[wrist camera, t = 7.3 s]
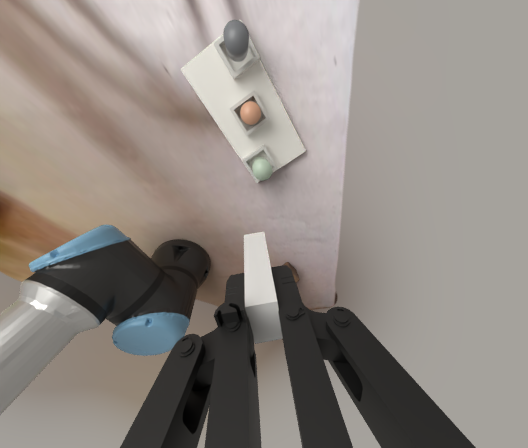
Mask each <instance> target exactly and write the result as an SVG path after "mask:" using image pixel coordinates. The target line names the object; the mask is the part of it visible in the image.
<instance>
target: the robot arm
mask: <svg viewBox="0 0 528 448" xmlns="http://www.w3.org/2000/svg"><path fill="white" fill-rule="evenodd" d="M29 267H30V270H31V271H32V272H35V273H34V274H33V275H32V276H30V277H29V278H27V279H26V280H24V281H23V282H22V283H21V287H20V296H19V299H18V300H17V301H16V302H15V303H14V304H12V305H11V306H10V307H9V308H7V309H6V310H4V311H3V312H2V313H0V415H1V414H2V413H3V412H4V410H5V409H6V408H7V407H8V406H9V405H10V404H11V403H12V402H13V401H14V400H15V399H16V398H17V397H18V396H19V395H20V394H21V393H22V391H23V390H24V389H25V388H26V387H27V386H28V385H29V384H30V383H31V382H32V381H33V380H34V379H35V378H36V377H37V376H38V375H39V374H40V373H41V371H43V369H44V368H45V367H46V366H47V365H48V364H49V363H50V362H51V361H52V360H53V359H54V358H55V357H56V356H57V355H58V354H59V353H60V352H61V351H62V350H63V348H64V347H65V346H66V345H67V344H68V343H69V342H70V341H71V340H72V339H73V338H74V337H75V336H76V335H77V334H78V333H80V332H83V331H86V330H90V329H94V328H97V327H98V326H99V325H100V324H101V323H102V322H103V321H104V320H105V319H107V320H109V321H110V322H112V323H113V324H115V325H116V326H117V327H115V329H114V331H113V336H112V339H113V343H114V345H115V346H116V347H117V348H119V349H120V350H122V351H124V352H127V353H130V354H134V355H143V356H144V355H157V354H162V353H165V352H168V351H170V350H171V353H170V354H169V356H168V358H167V360H166V362H165V364H164V366H163V367H162V369H161V371H160V373H159V375H158V377H157V379H156V381H155V383H154V385H153V387H152V388H151V390H150V392H149V394H148V396H147V398H146V400H145V401H144V403H143V405H142V407H141V409H140V411H139V413H138V415H137V417H136V418H135V420H134V422H133V424H132V426H131V428H130V430H129V432H128V434H127V436H126V437H125V440H124V441H123V443H122V445H121V447H120V448H197V445H198V442H199V438H200V435H201V431H202V428H203V424H204V422H205V418H206V415H207V412H208V408H209V414H208V423H207V432H206V440H205V448H261V433H260V416H259V400H258V384H257V383H258V382H257V366H256V354H255V350H254V343H255V344H256V343H262V342H267V341H273V340H278V339H283V343H284V348H285V354H286V360H287V364H288V371H289V376H290V381H291V387H292V393H293V398H294V403H295V409H296V415H297V420H298V425H299V431H300V436H301V442H302V448H353V446H352V443H351V441H350V438H349V435H348V432H347V429H346V426H345V423H344V420H343V417H342V414H341V411H340V408H339V405H338V402H337V399H336V396H335V393H334V390H333V387H332V384H331V381H330V378H329V375H328V372H327V369H326V366H325V363H324V360H328V361H329V362H330V364H331V366H332V367H333V369H334V371H335V372H336V374H337V376H338V377H339V379H340V380H341V382H342V384H343V385H344V387H345V389H346V390H347V392H348V394H349V395H350V397H351V399H352V400H353V402H354V403H355V405H356V407H357V408H358V410H359V412H360V413H361V415H362V416H363V418H364V420H365V422H366V423H367V425H368V426H369V428H370V430H371V431H372V433H373V435H374V436H375V438H376V440H377V441H378V443H379V444H380V446H381V448H475V446H474V445H473V444H472V443H471V442H470V441H469V440H468V439H467V438H466V437H465V435H463V433H462V432H461V431H460V430H459V429H458V428H457V427H456V426H455V425H454V424H453V422H452V421H451V420H450V419H449V418H448V417H447V416H446V415H445V413H444V412H443V411H442V410H441V409H440V408H439V407H438V406H437V405H436V404H435V402H434V401H433V400H432V399H431V398H430V397H429V396H428V395H427V394H426V393H425V391H424V390H423V389H422V388H421V387H420V386H419V385H418V384H417V383H416V382H415V380H414V379H413V378H412V377H411V376H410V375H409V374H408V373H407V372H406V371H405V369H403V367H402V366H401V365H400V364H399V363H398V362H397V361H396V359H395V358H394V357H393V356H392V355H391V354H390V353H389V352H388V351H387V350H386V349H385V347H384V346H383V345H382V344H381V343H380V342H379V341H378V340H377V339H376V337H375V336H374V335H373V334H372V333H371V332H370V331H369V330H368V329H367V328H366V326H365V325H364V324H363V323H362V322H361V321H360V320H359V319H358V318H357V317H356V316H355V314H354V313H352V312H351V311H350V310H348V309H346V308H343V307H334V308H331V309H330V310H328V311H327V313H319V312H314V311H311V310H309V309H308V308H306V307H305V306H304V304H303V303H302V300H301V297H300V294H299V291H298V288H297V285H296V282H295V279H294V276H293V273H292V270H291V269H290V268H289V267H288V266H287V265H283V266H277V267H272V268H271V266H270V260H269V255H268V250H267V245H266V240H265V235H264V232H259V233H253V234H247V235H244V273H241V274H235V275H231V276H230V277H229V279H228V281H227V284H226V295H225V303H223V304H222V305H220V306H219V307H218V309H217V310H216V311H215V314H214V317H215V320H216V322H217V325H218V327H217V328H216V329H215V330H214V331H212V332H210V333H208V334H206V335H204V336H202V337H199V336H198V335H196V334H189V335H186V336H184V335H185V332H186V330H187V327H188V326H189V322H190V317H191V313H192V309H193V305H194V301H195V297H196V293H197V289H198V288H199V287H200V286H201V284H202V283H203V282H204V281H205V279H206V278H207V276H208V273H209V270H210V259H209V256H208V254H207V253H206V251H205V250H204V249H203V248H202V247H200V246H199V245H197V244H196V243H193V242H191V241H187V240H171V241H167V242H165V243H163V244H161V245H160V246H159V247H158V248H157V249H156V251H155V252H154V254H153V255H152V258H149V257H148V256H147V255H146V254H145V253H144V252H143V251H142V250H141V249H140V248H139V247H138V246H137V245H136V244H135V243H134V242H133V241H131V238H129V237H127V236H125V235H124V234H123V233H122V232H121V231H119V230H118V229H117V228H116V227H114V226H112V225H101V226H99V227H97V228H95V229H92V230H90V231H89V232H87V233H85V234H83V235H81V236H79V237H77V238H75V239H73V240H71V241H69V242H67V243H65V244H64V245H62V246H60V247H58V248H56V249H55V250H53V251H51V252H49V253H47V254H45V255H43V256H41V257H39V258H38V259H36V260H34V261H32V262H31V263H30V264H29ZM323 359H324V360H323ZM209 405H210V406H209Z"/></svg>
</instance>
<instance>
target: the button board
mask: <svg viewBox="0 0 528 448" xmlns="http://www.w3.org/2000/svg"><path fill="white" fill-rule="evenodd" d="M239 21H240V20H239ZM241 22H242V20H241ZM242 23H243V22H242ZM223 34H224V33H223ZM223 34H222V35H221V36H220V37H219V38H217V39H216V40H215V41H214V42H213V43H211V44H210V45H209V46H208V47H207V48H205V49H204V50H203V51H202V52H201V53H199V54H198V55H197V56H196V57H195V58H193V59H192V60H191V61H190V62H189V63H187V64H186V65H185V66H184V67H183V68H181V71H182V72H183V74H184V75H185V77H186V78H187V80H188V81H189V83H190V84H191V86H192V87H193V89H194V90H195V92H196V93H197V95H198V96H199V98H200V99H201V101H202V102H203V104H204V105H205V107H206V108H207V110H208V111H209V113H210V114H211V116H212V117H213V119H214V120H215V122H216V123H217V125H218V126H219V128H220V129H221V131H222V132H223V134H224V135H225V137H226V138H227V140H228V141H229V143H230V144H231V145H232V147H233V148H234V150H235V151H236V153H237V154H238V156H239V157H240V159H241V160H242V162H243V163H244V165H245V166H246V168H247V169H248V171H249V172H250V174H251V175H252V177H253V178H254V180H255V181H256V183H258V182H260V181H261V180H258V179H257V178H256V177H255V176H254V174H253V169H252V163H253V161H254V159H256V158H257V157H264V158H266V159H267V160H268V162H269V163H270V165H271V167H272V173H273V172H275V171H276V170H278V169H279V168H281V167H282V166H284V165H286V164H287V163H289V162H290V161H292V160H293V159H295V158H296V157H298V156H299V155H301V154H302V153H304V152H305V151H306V150H305V148H304V146H303V144H302V142H301V140H300V138H299V136H298V134H297V132H296V130H295V128H294V126H293V124H292V122H291V120H290V118H289V116H288V114H287V112H286V110H285V108H284V106H283V104H282V102H281V100H280V98H279V96H278V94H277V92H276V90H275V88H274V86H273V84H272V82H271V80H270V78H269V76H268V74H267V72H266V70H265V68H264V66H263V64H262V62H261V60H260V56H259V54H258V52H257V50H256V48H255V46H254V44H253V42H252V40H251V38H250V36H249V45H248V54H247V56H246V58H245V59H244V60H243V61H240V62H235V61H233V60H232V59H231V58H230V57H229V56H228V54H227V51H226V46H225V42H224V36H223ZM249 101H252V102H255V103H256V104H257V105H258V106H259V107H260V110H261V117H260V119H259V121H258V122H257V123H256V124H253V125H249V124H246V123H245V122H244V121H243V120H242V118H241V114H240V111H241V107H242V106H243V104H245V103H246V102H249Z"/></svg>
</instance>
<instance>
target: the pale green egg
mask: <svg viewBox="0 0 528 448" xmlns="http://www.w3.org/2000/svg"><path fill="white" fill-rule="evenodd" d="M252 169H253V174H254V176H255V177H256V178H257V179H258V180H262V181H263V180H267V179H268V178H270V176H271V175H272V167H271V165H270V163H269V162H268V160H267V159H266V158H264V157H257V158H256V159H254V161H253V163H252Z"/></svg>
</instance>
